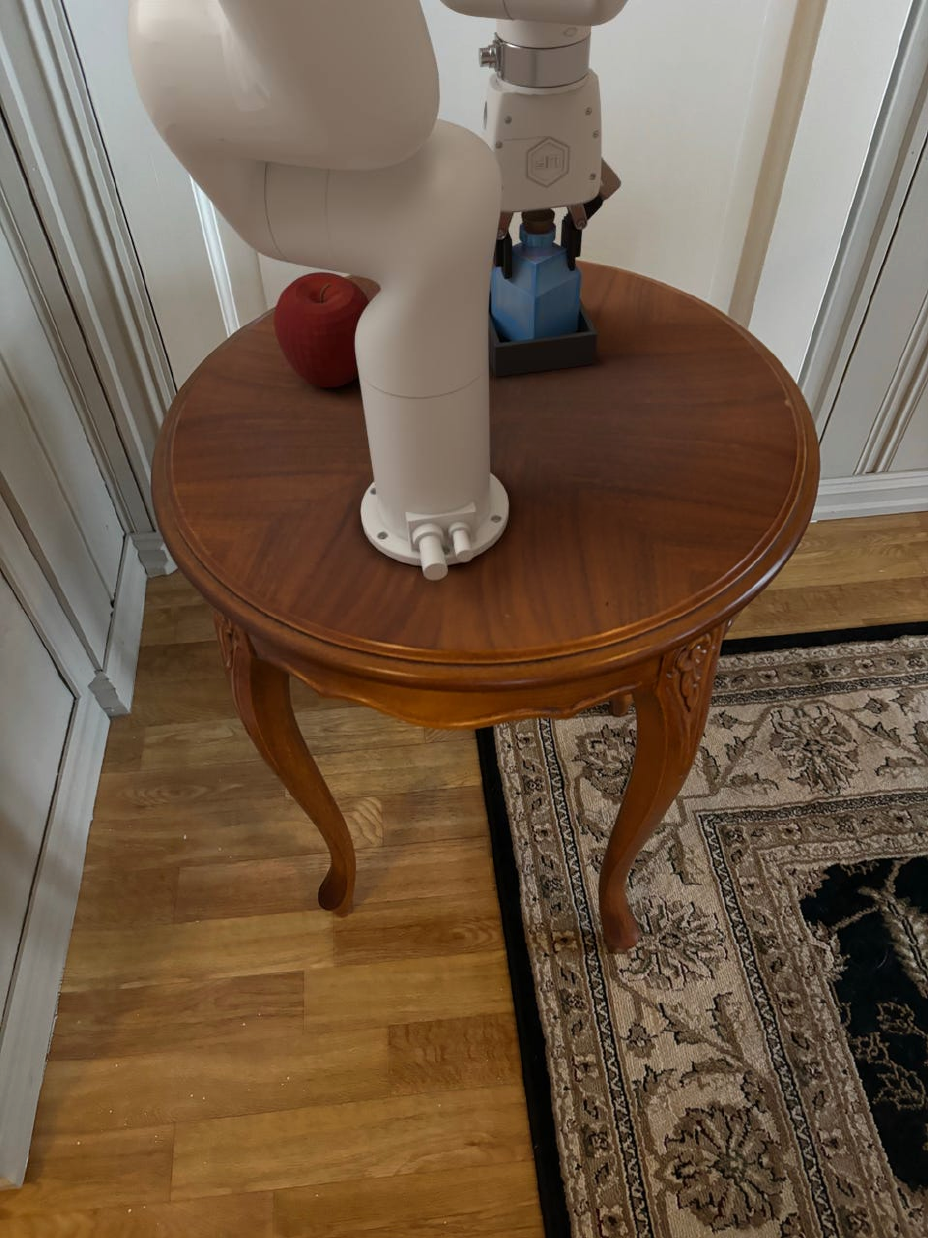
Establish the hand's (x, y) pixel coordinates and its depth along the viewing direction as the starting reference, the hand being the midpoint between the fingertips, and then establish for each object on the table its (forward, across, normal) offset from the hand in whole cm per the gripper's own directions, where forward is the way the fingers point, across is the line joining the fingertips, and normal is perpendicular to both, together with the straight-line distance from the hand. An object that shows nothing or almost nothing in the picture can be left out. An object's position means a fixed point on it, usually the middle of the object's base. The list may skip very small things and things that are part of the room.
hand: (536, 266), depth 86 cm
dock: (+8, 0, 0) cm, 8 cm away
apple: (+9, -21, -1) cm, 23 cm away
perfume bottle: (+7, 0, 0) cm, 7 cm away
